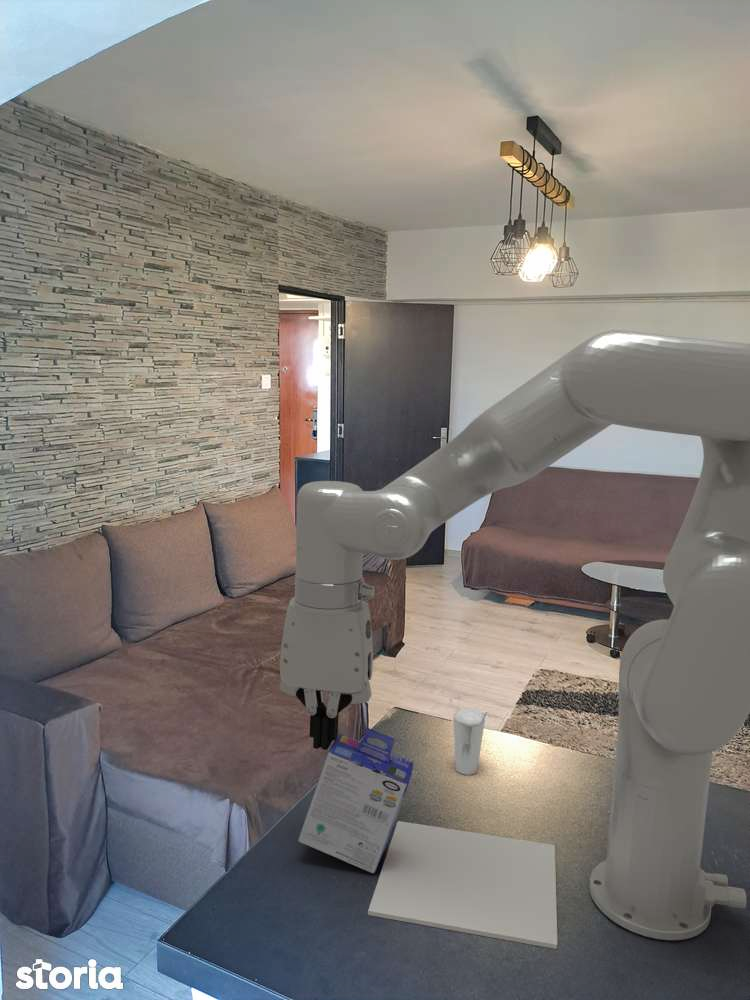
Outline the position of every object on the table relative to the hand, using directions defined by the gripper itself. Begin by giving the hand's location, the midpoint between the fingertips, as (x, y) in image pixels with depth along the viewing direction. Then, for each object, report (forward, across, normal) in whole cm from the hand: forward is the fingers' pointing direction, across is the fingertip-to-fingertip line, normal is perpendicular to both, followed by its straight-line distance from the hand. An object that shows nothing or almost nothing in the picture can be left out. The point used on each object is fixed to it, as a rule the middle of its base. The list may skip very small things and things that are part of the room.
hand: (323, 743), depth 88 cm
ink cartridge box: (+13, -2, 0) cm, 13 cm away
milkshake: (+14, -15, -24) cm, 32 cm away
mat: (+14, -18, 0) cm, 22 cm away
